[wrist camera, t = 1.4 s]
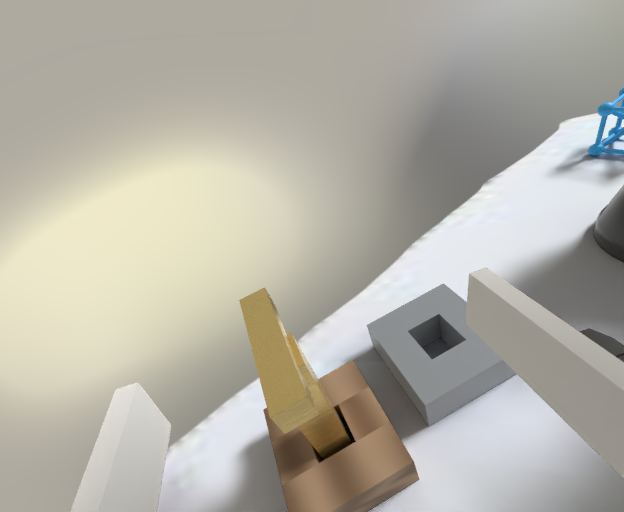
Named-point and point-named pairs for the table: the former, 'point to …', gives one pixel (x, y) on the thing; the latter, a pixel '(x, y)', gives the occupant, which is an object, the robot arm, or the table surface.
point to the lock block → (344, 454)
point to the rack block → (444, 368)
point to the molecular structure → (615, 132)
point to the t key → (290, 379)
